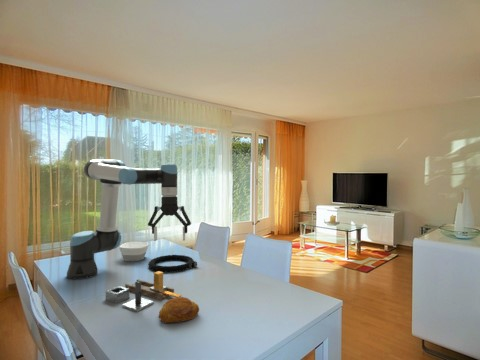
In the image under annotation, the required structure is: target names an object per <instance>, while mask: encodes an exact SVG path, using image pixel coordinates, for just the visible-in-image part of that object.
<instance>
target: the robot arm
mask: <svg viewBox="0 0 480 360" xmlns="http://www.w3.org/2000/svg"><path fill="white" fill-rule="evenodd" d="M83 173H84V175H85V176H86V177H87V178H88V179H90V180H93V181H99V183H100V184H101V185H102V189H101V190H102V191H101V200H100V201H101V202H100V213H99V224H98V226H97V227H96V229H95V231H93V230H84V231H83V230H82V231H80V232H76V233H73V234H72V235H71V237H70V241H69V247H70V249H69V250H70V251H69V253H70V254H69V255H70V259H69V260H70V263H69V265H68V267H67V271H66V278H67V279H69V280H83V279H84V280H85V279H87V278H91V277H94V276H96V275H97V274H98V271H99V270H98V266H97V264H96V260H95V254H98V253H103V252H108V251H112V250H115V249H117V248H118V247H120V245H121V241H122V235H121V231H120V230H119V228H118V227H117V226H116V222H117V212H118V211H117V210H118V199H119V188H120V186H121V185H128V186H129V185H143V184H144V185H145V184H146V185H151V184H153V185H155V184H158V185H159V184H161V185H160V187H161V188H160V189H161V190H160V191H161V193H160V194H161V200H160V201H161V203H160V205H161V206H159V205H157V206H154V211H153V213H152V215H151V216H150V219H149V221H148V223H147V226H148V227H151V234H153V242H156V241H158V225H157V224H158V223H159V222H160V221H161V219H163V217H164V216H166V217H168V216H170V217H171V216H172V217H173V216H174V217H175V218H177V220H178V221H179V222H180V223H181V224H182V225H183V226H182V242H183V241H184V242H185V241H186V234H188V227H189V226H191V225H192V221H191V220H190V218H189V216H188V214H187V211H186V210H185V205H182V206H178V203H179V202H178V166H177V164H175V163H162V164H161V165H160V168H149V167H148V168H145V167H143V168H141V167H140V168H139V167H129V166H127V165H126V164H125V162H123V160H120V159H105V158H104V159H103V158H102V159H100V158H95V159H90V160H88V161H87V162H86V163H85V164H84V166H83ZM160 210H161V213H160V215H159V216H158V217H157V218H156V216H157V214H158V213H159V211H160ZM178 211H180V212H181V214H182V216H183V217H184V218H183V217H182V216H181V215H180V214H179V212H178ZM155 219H156V220H155ZM184 219H185V220H184Z"/></svg>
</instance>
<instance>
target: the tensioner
mask: <svg viewBox="0 0 480 360" xmlns="http://www.w3.org/2000/svg"><path fill="white" fill-rule="evenodd" d="M153 283H154V286H153V287H151V288H150V290H151V291H155V292H158V293H162V294H165V295H168V296H169V297H171V298H179V297H183V296H182V294H181V293H176V292H174V293H172V292H169V291H167V287H168V286H165V285H164V272H160V271H154V272H153Z"/></svg>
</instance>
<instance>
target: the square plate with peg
mask: <svg viewBox="0 0 480 360" xmlns="http://www.w3.org/2000/svg"><path fill="white" fill-rule="evenodd" d="M134 284H135V292H134V296H135V297H134V298H133V299H132V300H129V301H127V302H125V303H123V304H122V306H121V307H122V308H124V309H127V310H130V311H132V312H137V313H138V312H140V311H142V310H144V309H146V308H148V307H150V306H151V305H153V304H154V301H153V300H151V299H147V298H143V297H142V294H141V281H137V280H136V281H135V282H134Z"/></svg>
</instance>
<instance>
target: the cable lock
mask: <svg viewBox="0 0 480 360" xmlns="http://www.w3.org/2000/svg"><path fill="white" fill-rule="evenodd" d="M166 261H169V262H170V261H181V262H186V263H184V264H178V265H157V264H159V263H162V262H166ZM197 267H198V262H197V260H195V259H193V258H192V257H191V256H188V255H184V254H183V255H182V254H167V255H160V256H158V257H154V258H152V259H150V261H149V262H148V268H149V269H150V270H151V271H152V272H153V271H154V272H157V271H160V272H163V273H177V272H183V271H186V270H190V269H194V268H195V269H196V268H197Z"/></svg>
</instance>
